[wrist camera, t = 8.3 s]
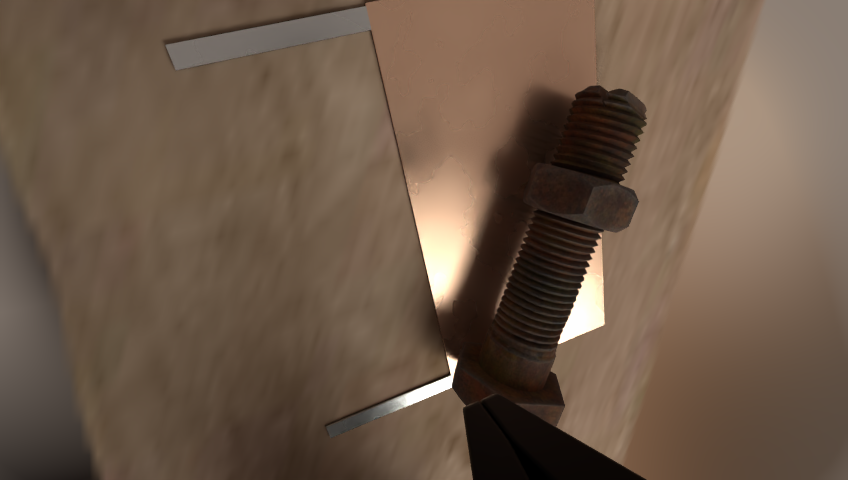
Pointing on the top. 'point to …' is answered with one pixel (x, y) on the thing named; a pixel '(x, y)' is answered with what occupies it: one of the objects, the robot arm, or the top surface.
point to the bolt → (556, 253)
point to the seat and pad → (460, 138)
